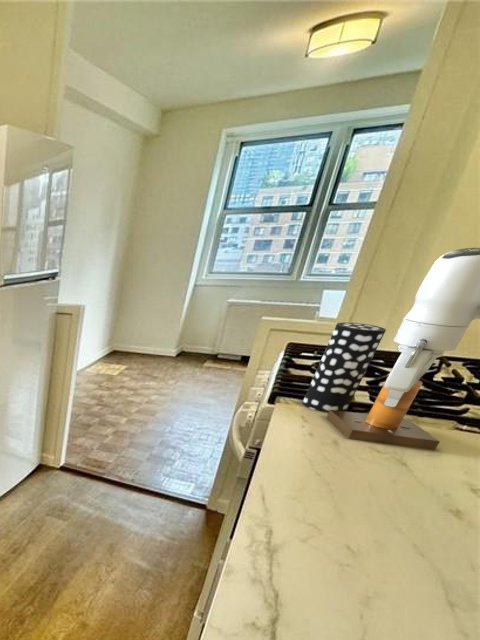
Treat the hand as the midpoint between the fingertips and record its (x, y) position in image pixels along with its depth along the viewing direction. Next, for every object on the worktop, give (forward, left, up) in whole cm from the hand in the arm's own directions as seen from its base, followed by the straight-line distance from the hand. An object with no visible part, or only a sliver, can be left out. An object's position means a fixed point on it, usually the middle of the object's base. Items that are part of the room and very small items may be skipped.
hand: (393, 402), depth 101 cm
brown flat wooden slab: (0, 0, -8) cm, 8 cm away
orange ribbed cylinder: (0, 0, -5) cm, 5 cm away
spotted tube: (+5, -14, -8) cm, 17 cm away
